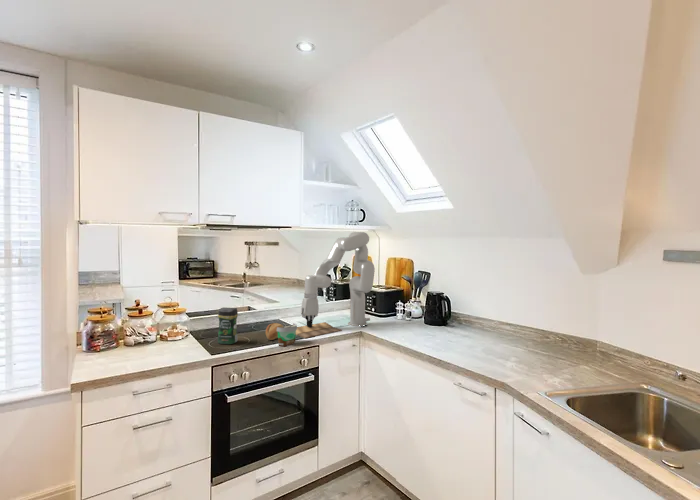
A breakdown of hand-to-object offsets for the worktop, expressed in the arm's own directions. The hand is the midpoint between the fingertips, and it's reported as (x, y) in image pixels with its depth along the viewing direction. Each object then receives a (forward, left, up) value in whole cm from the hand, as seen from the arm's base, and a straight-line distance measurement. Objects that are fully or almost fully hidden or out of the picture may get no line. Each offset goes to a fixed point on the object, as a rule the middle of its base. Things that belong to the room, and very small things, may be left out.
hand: (309, 326), depth 214 cm
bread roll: (+23, 0, -3) cm, 23 cm away
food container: (+24, +17, -3) cm, 29 cm away
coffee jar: (+47, -7, -3) cm, 48 cm away
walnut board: (-1, +10, -3) cm, 10 cm away
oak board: (-1, +1, -2) cm, 2 cm away
